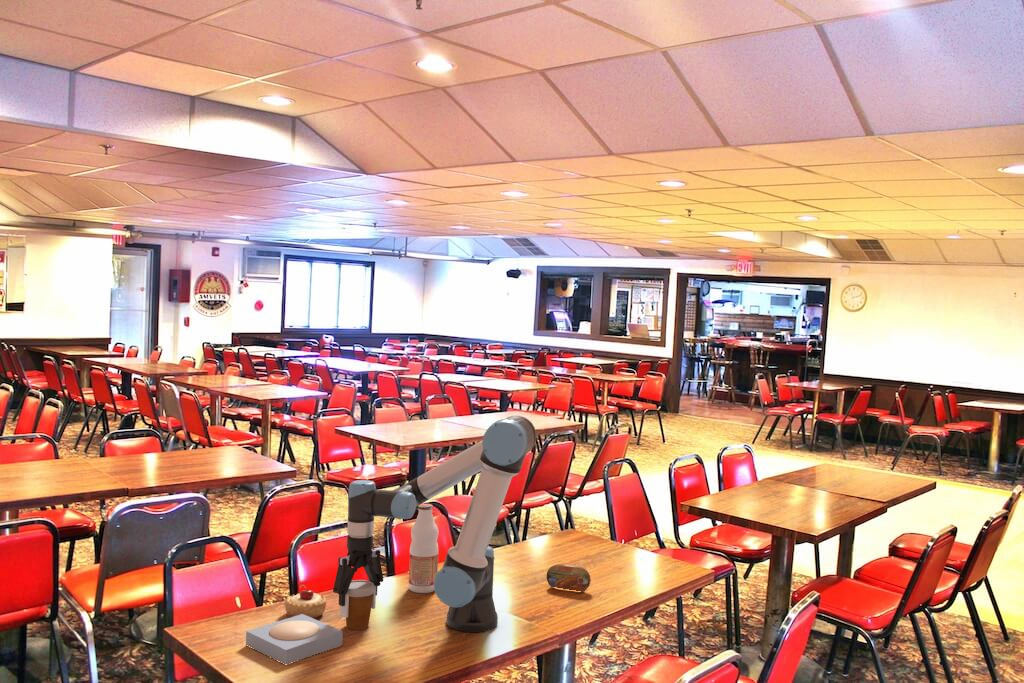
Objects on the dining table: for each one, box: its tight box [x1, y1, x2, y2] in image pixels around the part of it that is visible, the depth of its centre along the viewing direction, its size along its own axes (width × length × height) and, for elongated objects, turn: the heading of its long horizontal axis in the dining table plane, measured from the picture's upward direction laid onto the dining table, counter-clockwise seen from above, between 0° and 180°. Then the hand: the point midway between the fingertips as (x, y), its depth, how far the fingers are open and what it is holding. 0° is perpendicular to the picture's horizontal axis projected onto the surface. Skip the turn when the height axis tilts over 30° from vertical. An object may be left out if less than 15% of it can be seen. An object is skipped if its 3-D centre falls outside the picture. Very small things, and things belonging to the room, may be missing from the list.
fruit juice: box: [408, 503, 439, 594], centre depth 266 cm, size 9×9×28 cm
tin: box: [546, 563, 592, 593], centre depth 270 cm, size 15×3×8 cm, turn 68°
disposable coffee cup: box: [345, 579, 375, 631], centre depth 232 cm, size 10×10×12 cm
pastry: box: [284, 584, 327, 619], centre depth 240 cm, size 12×12×9 cm
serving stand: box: [245, 614, 344, 665], centre depth 216 cm, size 18×18×4 cm
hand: (357, 611), depth 232 cm, fingers closed on disposable coffee cup, 9 cm apart
